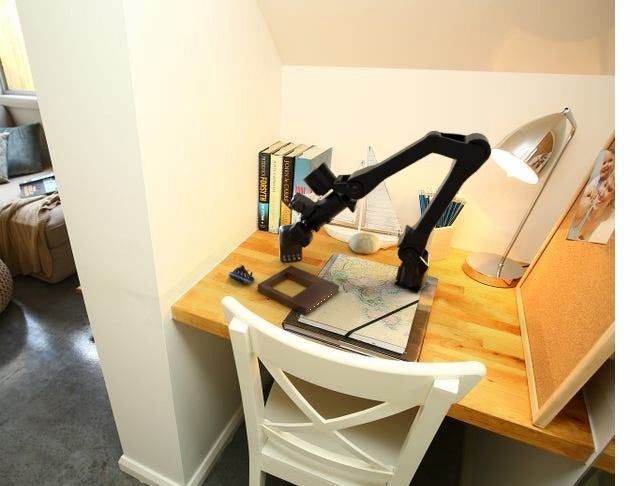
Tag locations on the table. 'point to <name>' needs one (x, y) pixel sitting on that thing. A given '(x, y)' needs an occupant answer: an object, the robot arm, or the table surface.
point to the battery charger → (288, 247)
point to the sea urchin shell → (364, 243)
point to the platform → (306, 298)
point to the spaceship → (241, 275)
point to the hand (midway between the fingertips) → (287, 240)
